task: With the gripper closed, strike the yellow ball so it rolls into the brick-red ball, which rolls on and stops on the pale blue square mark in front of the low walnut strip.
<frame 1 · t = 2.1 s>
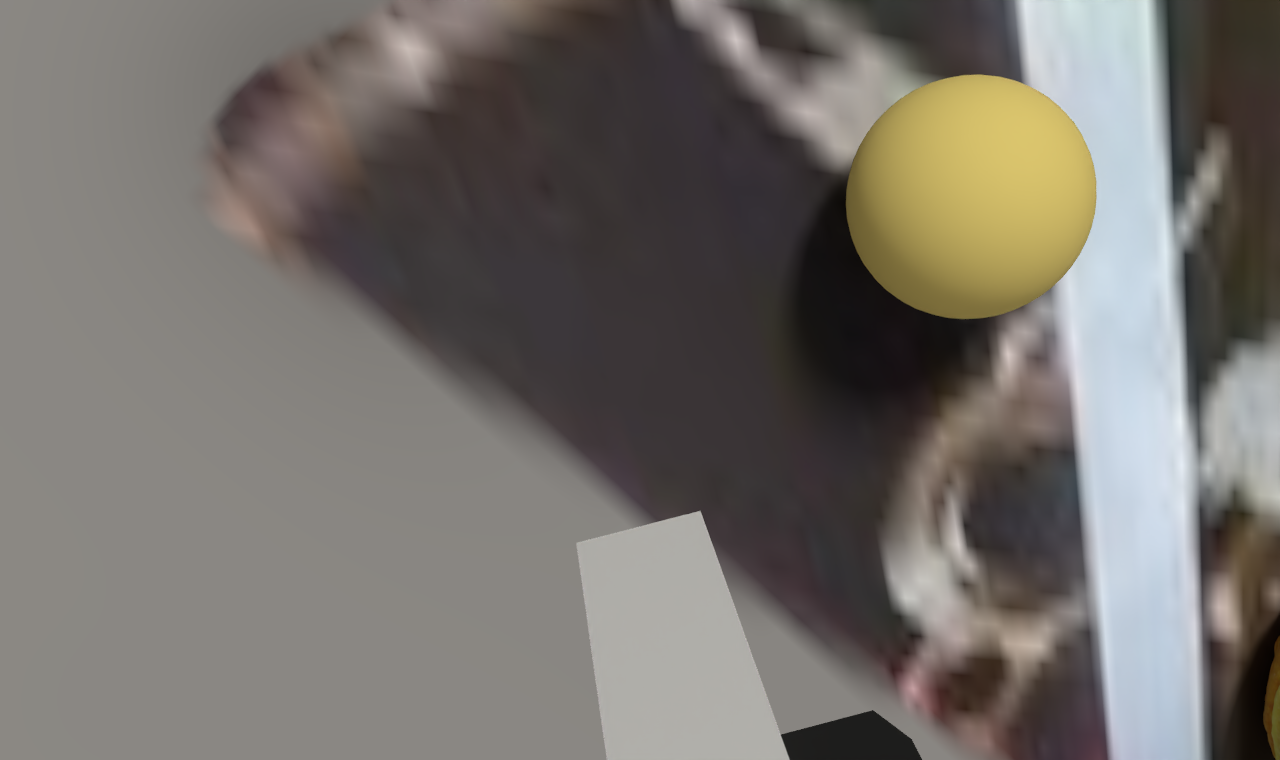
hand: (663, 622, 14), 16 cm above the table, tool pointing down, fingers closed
yellow ball: (967, 198, 27), on the table
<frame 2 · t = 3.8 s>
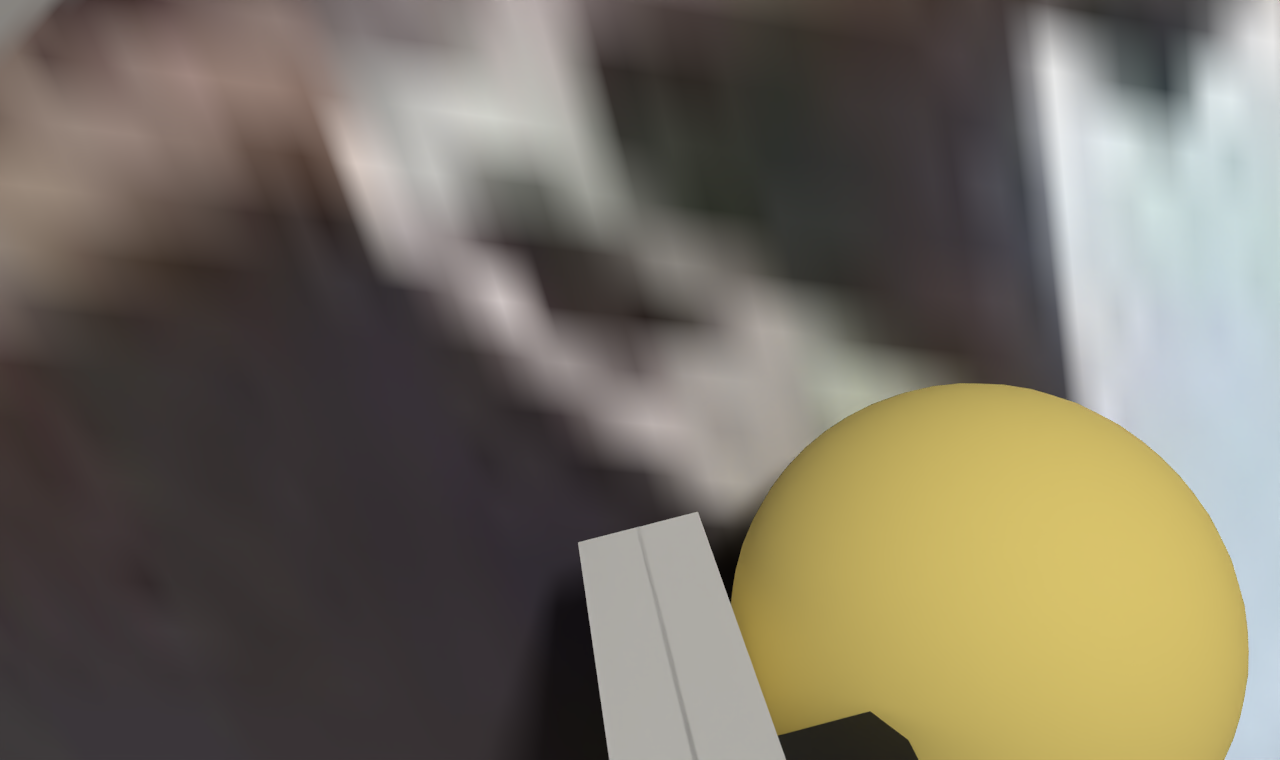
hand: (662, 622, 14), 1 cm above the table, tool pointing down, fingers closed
yellow ball: (974, 627, 13), on the table, touching gripper
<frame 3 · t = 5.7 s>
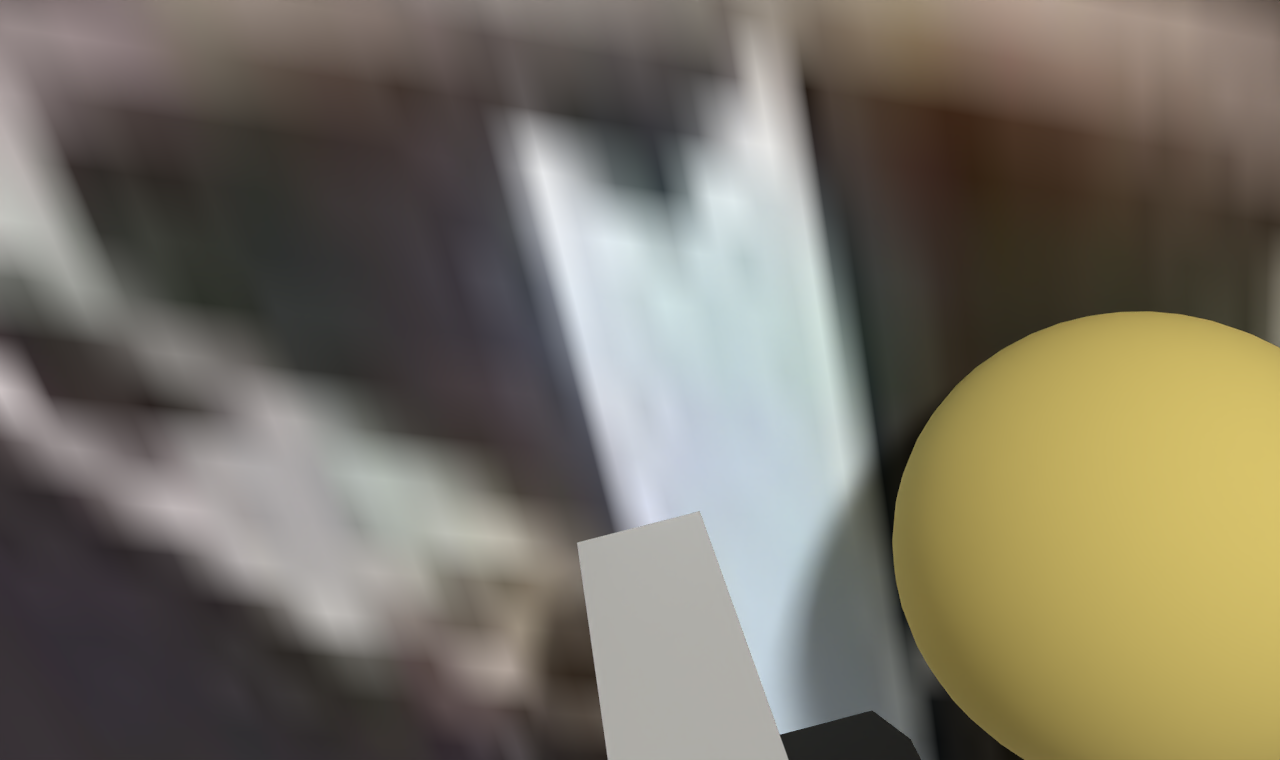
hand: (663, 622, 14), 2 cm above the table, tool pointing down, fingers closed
yellow ball: (1134, 548, 14), on the table
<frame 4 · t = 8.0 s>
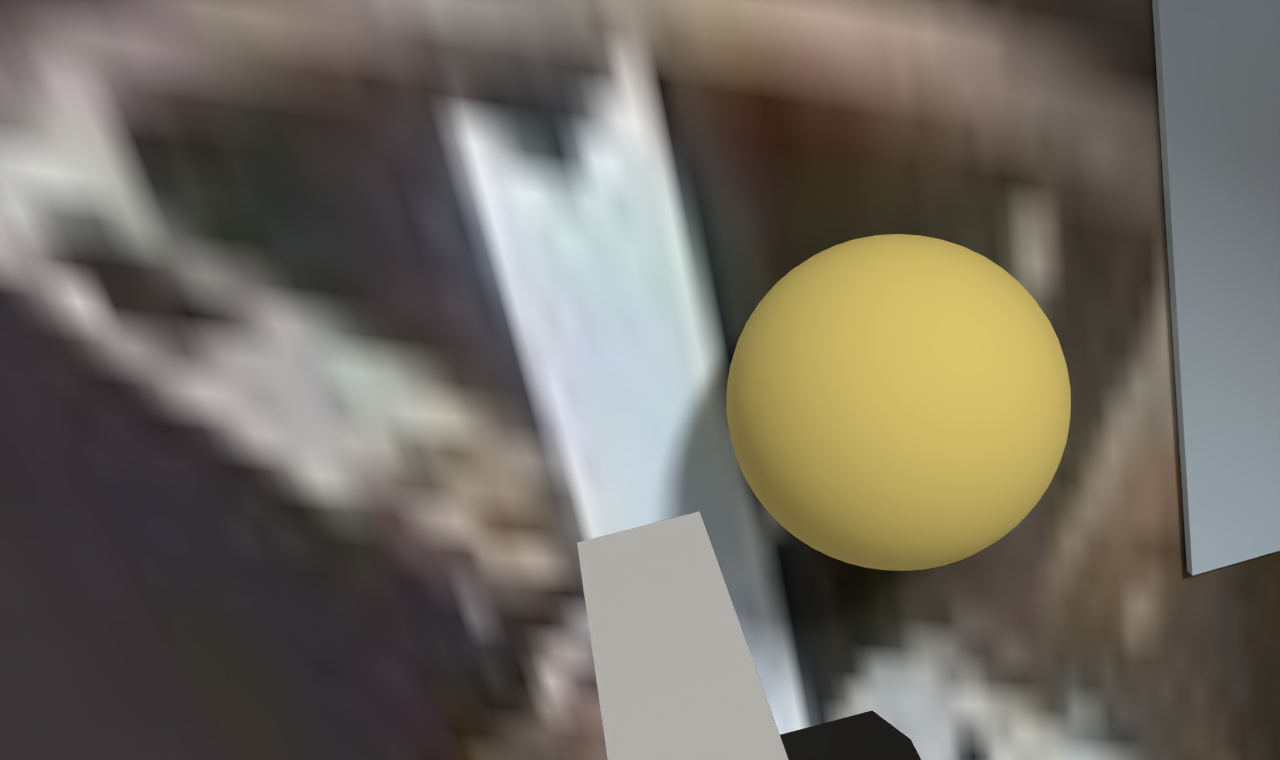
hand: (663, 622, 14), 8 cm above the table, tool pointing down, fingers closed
yellow ball: (893, 402, 19), on the table
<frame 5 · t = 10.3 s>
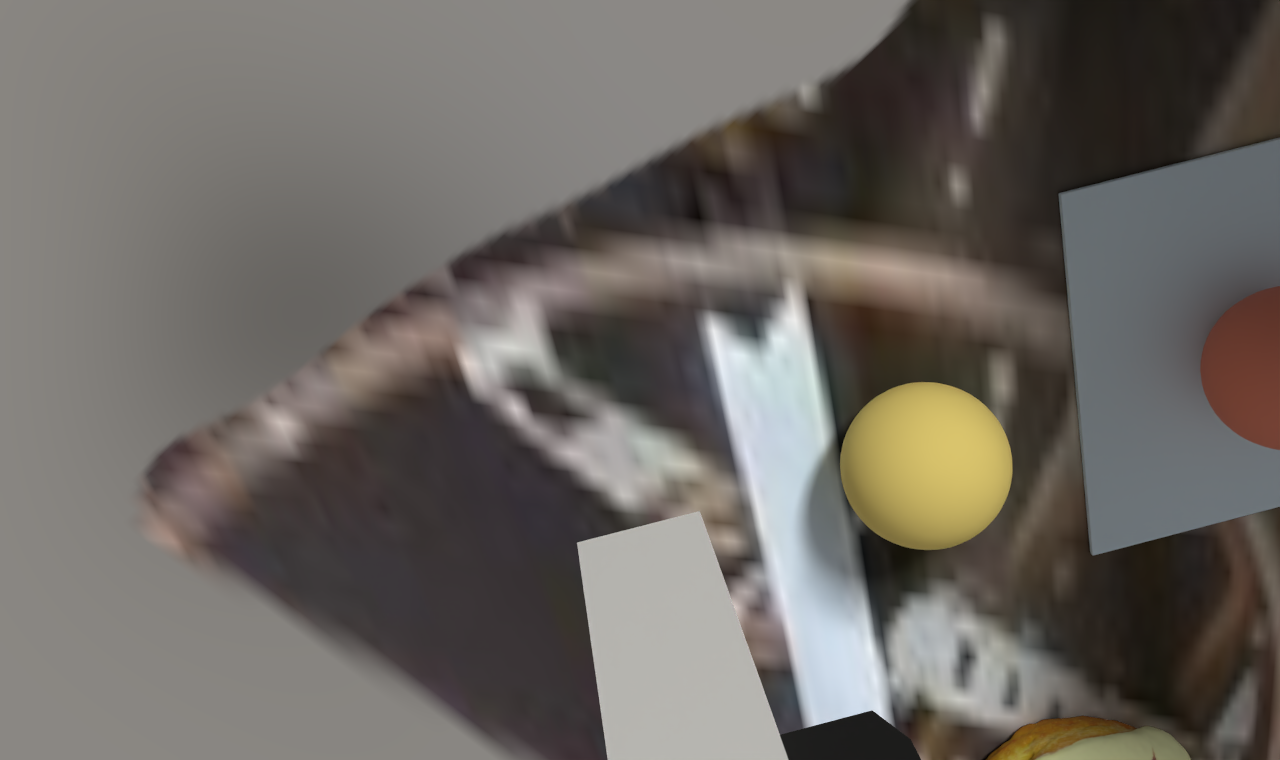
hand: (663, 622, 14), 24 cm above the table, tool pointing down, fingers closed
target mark: (1265, 335, 42), on the table
yellow ball: (924, 465, 39), on the table
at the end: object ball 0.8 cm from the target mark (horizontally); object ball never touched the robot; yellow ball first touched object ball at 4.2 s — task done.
